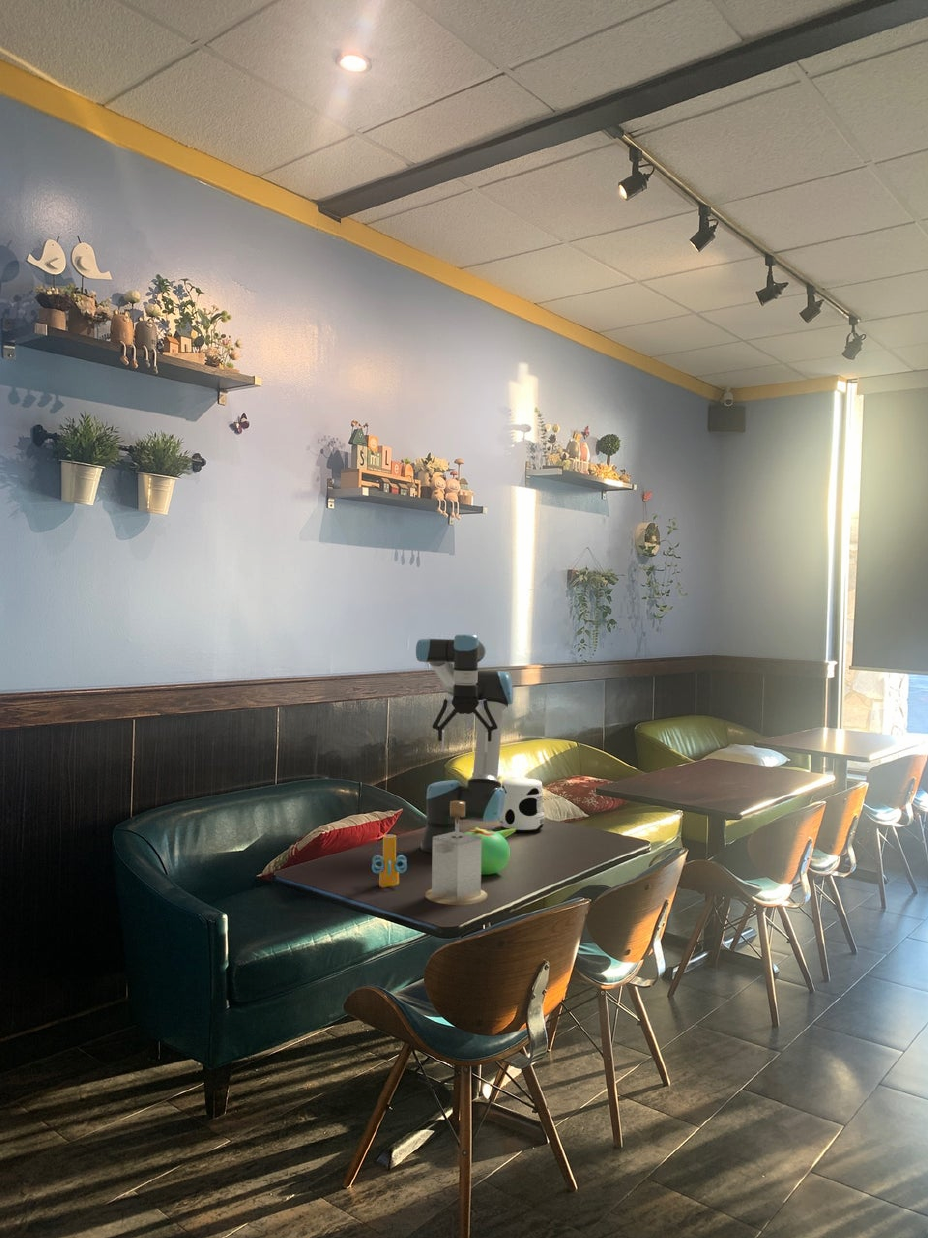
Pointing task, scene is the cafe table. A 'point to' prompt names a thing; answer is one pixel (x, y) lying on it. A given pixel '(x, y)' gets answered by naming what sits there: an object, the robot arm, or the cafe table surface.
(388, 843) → the cylinder
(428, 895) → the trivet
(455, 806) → the plunger
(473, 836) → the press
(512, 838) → the cafe table surface
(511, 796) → the milk container
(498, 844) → the toy bird
